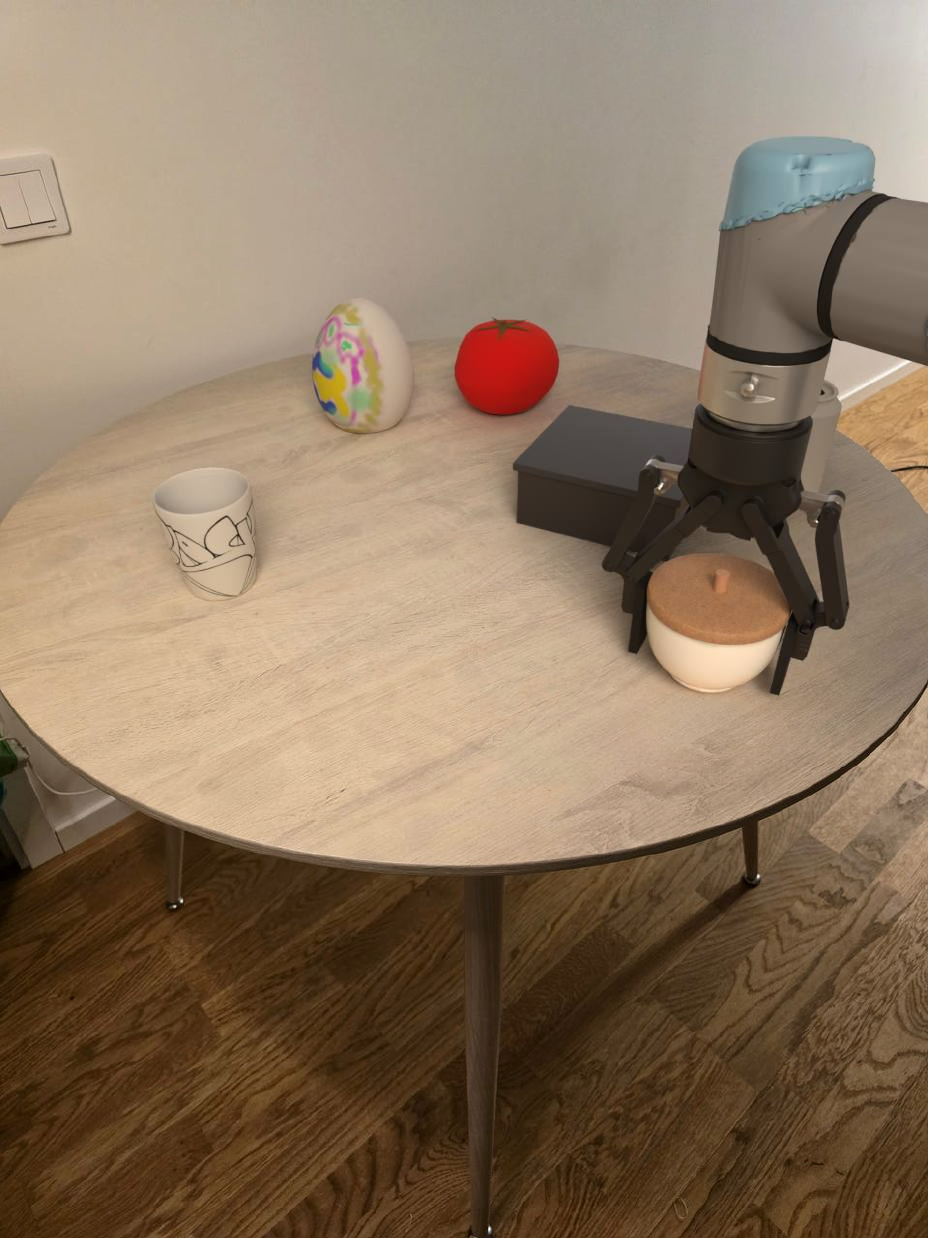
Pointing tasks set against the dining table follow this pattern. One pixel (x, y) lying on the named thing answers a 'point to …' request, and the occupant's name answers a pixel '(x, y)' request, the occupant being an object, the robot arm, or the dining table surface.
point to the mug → (210, 530)
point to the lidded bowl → (714, 619)
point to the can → (821, 437)
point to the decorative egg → (362, 368)
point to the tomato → (506, 366)
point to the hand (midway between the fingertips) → (705, 663)
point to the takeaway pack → (597, 475)
